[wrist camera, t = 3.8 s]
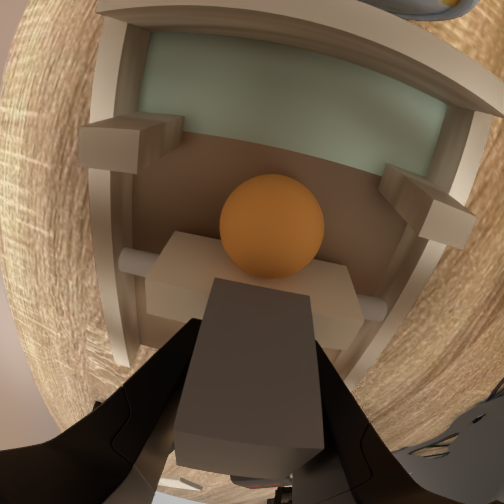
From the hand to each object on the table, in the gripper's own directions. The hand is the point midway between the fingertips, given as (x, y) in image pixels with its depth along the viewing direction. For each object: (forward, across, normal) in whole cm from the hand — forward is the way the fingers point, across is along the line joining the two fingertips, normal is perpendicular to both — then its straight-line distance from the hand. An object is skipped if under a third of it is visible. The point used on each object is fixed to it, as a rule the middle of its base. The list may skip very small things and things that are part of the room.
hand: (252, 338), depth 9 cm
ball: (+3, 0, -2) cm, 4 cm away
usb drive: (+7, -10, +38) cm, 40 cm away
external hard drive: (+7, +7, +60) cm, 61 cm away
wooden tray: (+6, 0, -1) cm, 6 cm away
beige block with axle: (+4, 0, 0) cm, 5 cm away
